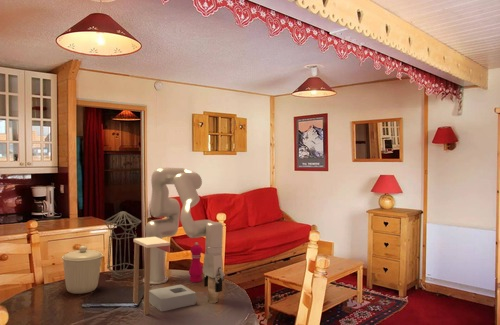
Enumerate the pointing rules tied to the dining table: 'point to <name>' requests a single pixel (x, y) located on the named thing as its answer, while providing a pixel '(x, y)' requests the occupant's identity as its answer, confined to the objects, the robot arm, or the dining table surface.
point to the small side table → (146, 265)
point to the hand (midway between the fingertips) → (213, 288)
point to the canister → (82, 270)
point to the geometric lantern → (120, 240)
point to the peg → (212, 290)
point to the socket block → (172, 297)
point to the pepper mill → (196, 264)
